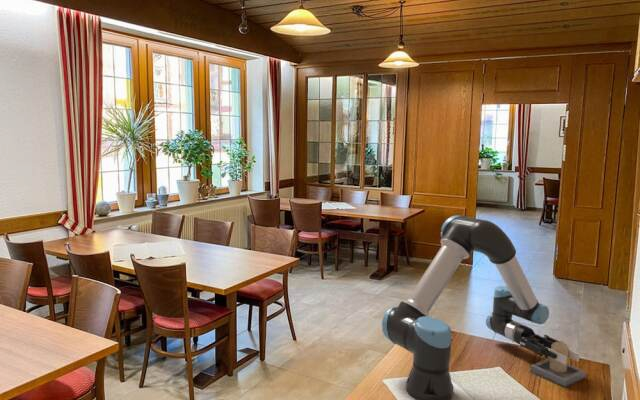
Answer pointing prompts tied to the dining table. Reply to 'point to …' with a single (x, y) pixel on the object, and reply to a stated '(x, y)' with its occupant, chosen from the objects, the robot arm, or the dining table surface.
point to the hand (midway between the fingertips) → (572, 359)
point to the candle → (562, 349)
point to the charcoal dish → (558, 373)
